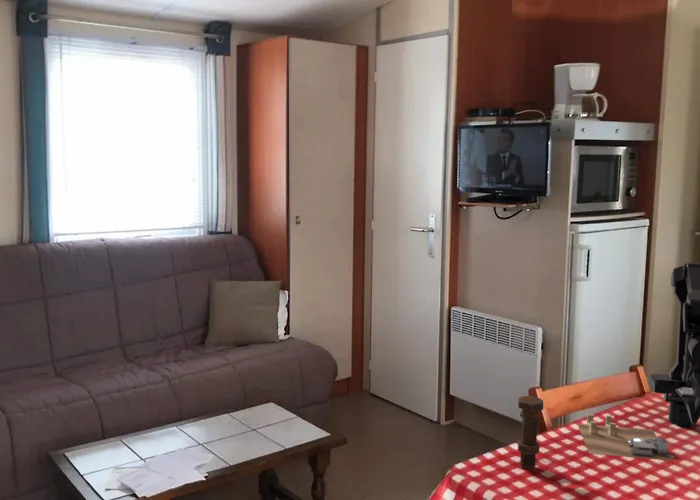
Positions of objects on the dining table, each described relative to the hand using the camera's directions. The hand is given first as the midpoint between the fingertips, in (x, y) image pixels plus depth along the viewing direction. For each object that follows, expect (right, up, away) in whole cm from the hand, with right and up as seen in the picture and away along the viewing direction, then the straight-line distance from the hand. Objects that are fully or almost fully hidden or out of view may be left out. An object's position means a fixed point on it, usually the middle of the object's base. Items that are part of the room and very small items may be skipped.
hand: (693, 423), depth 156 cm
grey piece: (-9, -7, +2) cm, 12 cm away
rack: (-15, -5, +15) cm, 22 cm away
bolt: (-38, -8, -5) cm, 39 cm away
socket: (-11, -7, +3) cm, 13 cm away
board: (-13, -7, +8) cm, 17 cm away
